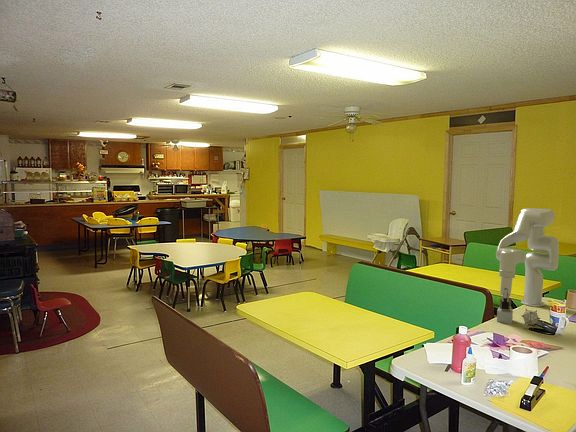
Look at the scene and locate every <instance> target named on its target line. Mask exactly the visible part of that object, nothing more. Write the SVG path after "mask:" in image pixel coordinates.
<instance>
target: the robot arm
mask: <svg viewBox="0 0 576 432" xmlns="http://www.w3.org/2000/svg"><path fill="white" fill-rule="evenodd" d="M555 218H556V214H555V212H554V211H553V209H550V208H538V207H537V208H533V207H528V208H526V207H525V208H522V209H520V213H519V214H518V216H517V219H516V222H515V225H514V228H513V229H512V232H510V233H509V234H506V235H505V236H504V237H502V239H501V240H500V241H499V244H498V245H497V247H496V248H497V249H496V252H495V258H496V259H497V261H499V269H498V270H499V271H498V276H499V277H500V287H499V295H500V296H501V297H503V300H502V309H508V308H509V302H508V299H509V298H510V297H511V294H512V287H513V286H512V285H513V279H515V278H516V266H517V264H523V263H524V268H525V273H524V274H525V275H524V290H523V292H524V293H523V298H522V299H521V300H520V303H521V304H522V305H524V306H529V307H536V308H537V307H539V308H541V307H544V306H545V305H546V304H545V302H543V292H544V291H543V289H544V274H543V273H542V270H543V271H552V272H554V271H556V270H557V269H558V268H559V267H558V266H559V258H560V257H559V256H560V255H559V253H560V252H559V251H560V243H559V239H558V238H557V237H555V236H552V235H551V236H550V235H545V228H546V227H548V226H551V224H553V223H554V222H555ZM526 240H527V248H528V249H529V250H531V252H527V253H526V252H525V251H524V250H522V249H516V248H509V247H508V246H511V245H512V244H515V243H519V242H523V241H526ZM533 251H535V252H533Z"/></svg>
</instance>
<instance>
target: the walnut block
mask: <svg viewBox="0 0 576 432" xmlns="http://www.w3.org/2000/svg"><path fill="white" fill-rule="evenodd" d="M502 300H503V296H501V297H500V298H499V308H500V309H502ZM508 302H509V308H508V309H506V310H510V309H511V307H512V305H511V304H512V298H510V297H509V299H508Z"/></svg>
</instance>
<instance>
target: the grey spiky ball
mask: <svg viewBox="0 0 576 432" xmlns="http://www.w3.org/2000/svg"><path fill="white" fill-rule="evenodd" d="M537 312H538V309H537V310H529V309H527V308H525V312H524V313H523V315H521V318H523V321H524V325H531V326H535V325H534V324H535V323H536V324H537V323H538V321H539V320H541V317H539V315H538V313H537Z"/></svg>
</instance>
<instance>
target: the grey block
mask: <svg viewBox="0 0 576 432" xmlns="http://www.w3.org/2000/svg"><path fill="white" fill-rule="evenodd" d="M513 314H514V309H513V308H512V309H511V308H510V310H506V309H500V306H499V307H498V308H497V311H496V322H497V321H498V322H497V323H503V324H510V325H512V323H513Z"/></svg>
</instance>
